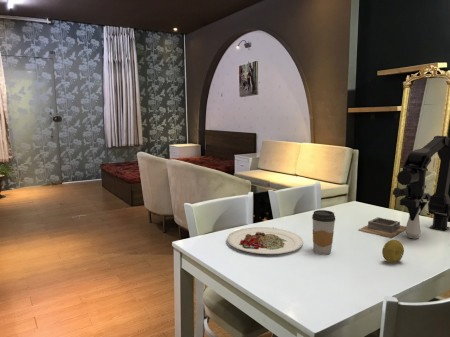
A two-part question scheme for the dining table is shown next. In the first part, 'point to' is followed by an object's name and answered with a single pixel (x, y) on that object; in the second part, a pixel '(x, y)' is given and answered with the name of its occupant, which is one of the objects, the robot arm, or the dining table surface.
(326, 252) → the coffee cup
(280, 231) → the plated food
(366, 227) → the brown tray
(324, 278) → the dining table surface
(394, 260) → the ochre rounded piece
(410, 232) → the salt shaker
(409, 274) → the dining table surface
